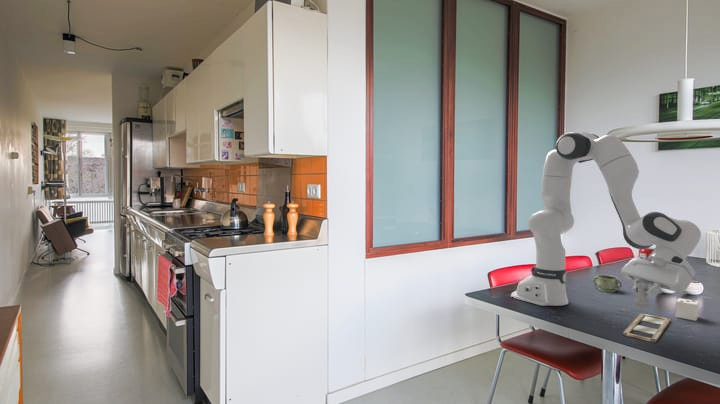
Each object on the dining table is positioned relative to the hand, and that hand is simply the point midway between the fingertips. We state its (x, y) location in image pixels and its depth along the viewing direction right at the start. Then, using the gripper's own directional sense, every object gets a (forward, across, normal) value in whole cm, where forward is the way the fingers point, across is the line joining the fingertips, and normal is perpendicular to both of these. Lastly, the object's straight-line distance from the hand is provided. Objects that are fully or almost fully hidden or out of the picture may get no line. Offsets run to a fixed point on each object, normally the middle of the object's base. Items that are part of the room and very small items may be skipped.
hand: (640, 292), depth 135 cm
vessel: (-17, -47, +38) cm, 63 cm away
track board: (+3, -4, +17) cm, 18 cm away
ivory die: (-14, -8, +34) cm, 38 cm away
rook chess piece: (+3, 0, +4) cm, 5 cm away
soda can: (-49, -63, +70) cm, 107 cm away
